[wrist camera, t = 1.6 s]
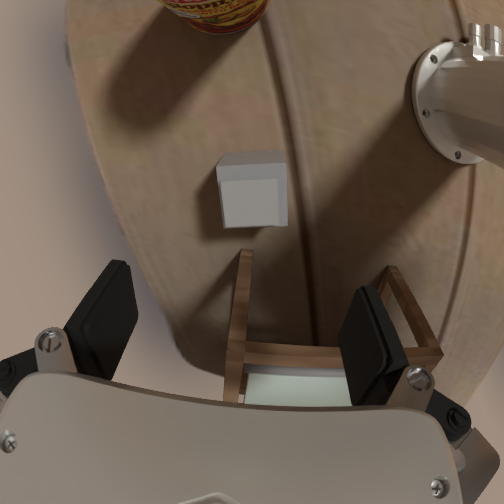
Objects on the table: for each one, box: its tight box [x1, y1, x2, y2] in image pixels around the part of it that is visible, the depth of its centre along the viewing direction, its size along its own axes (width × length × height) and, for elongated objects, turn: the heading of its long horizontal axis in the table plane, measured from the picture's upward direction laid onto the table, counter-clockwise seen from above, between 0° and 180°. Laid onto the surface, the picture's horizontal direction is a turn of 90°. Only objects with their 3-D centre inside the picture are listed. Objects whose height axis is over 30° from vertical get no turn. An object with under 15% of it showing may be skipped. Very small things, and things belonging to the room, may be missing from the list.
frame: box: [223, 249, 444, 403], centre depth 28 cm, size 17×17×13 cm
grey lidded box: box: [216, 150, 288, 229], centre depth 23 cm, size 5×5×6 cm
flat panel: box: [243, 363, 352, 407], centre depth 24 cm, size 12×14×1 cm
